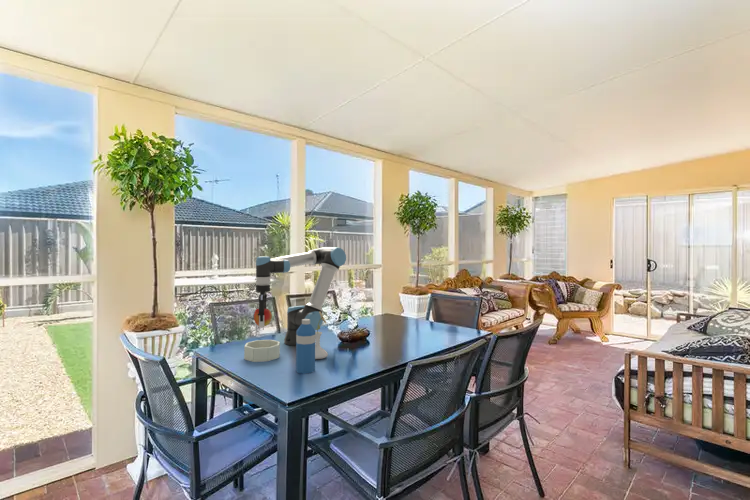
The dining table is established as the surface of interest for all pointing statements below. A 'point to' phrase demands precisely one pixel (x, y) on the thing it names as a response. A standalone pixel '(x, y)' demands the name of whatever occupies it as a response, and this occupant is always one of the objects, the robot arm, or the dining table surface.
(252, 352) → the white faceted bowl
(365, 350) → the dining table surface
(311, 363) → the water bottle
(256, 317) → the apple
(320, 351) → the flower in vase
